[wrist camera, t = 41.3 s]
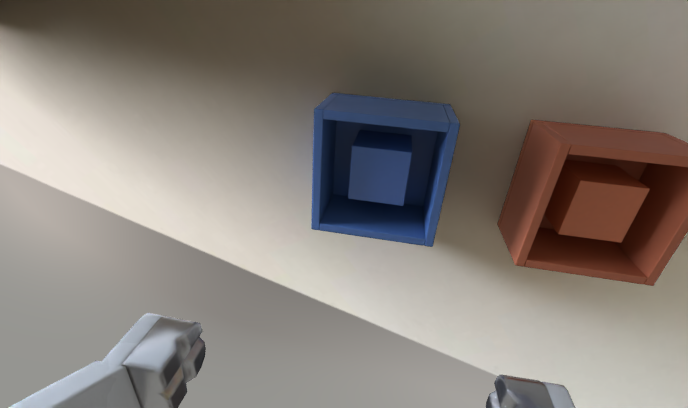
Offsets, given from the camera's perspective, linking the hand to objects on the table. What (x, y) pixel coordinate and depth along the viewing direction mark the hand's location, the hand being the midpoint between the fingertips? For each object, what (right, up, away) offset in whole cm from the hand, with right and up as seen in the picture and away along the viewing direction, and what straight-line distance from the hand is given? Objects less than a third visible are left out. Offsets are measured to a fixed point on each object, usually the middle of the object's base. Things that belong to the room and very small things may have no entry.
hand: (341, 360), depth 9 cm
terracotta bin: (+17, +6, +17) cm, 25 cm away
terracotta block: (+17, +6, +16) cm, 24 cm away
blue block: (+3, +8, +18) cm, 20 cm away
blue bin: (+3, +8, +18) cm, 20 cm away
